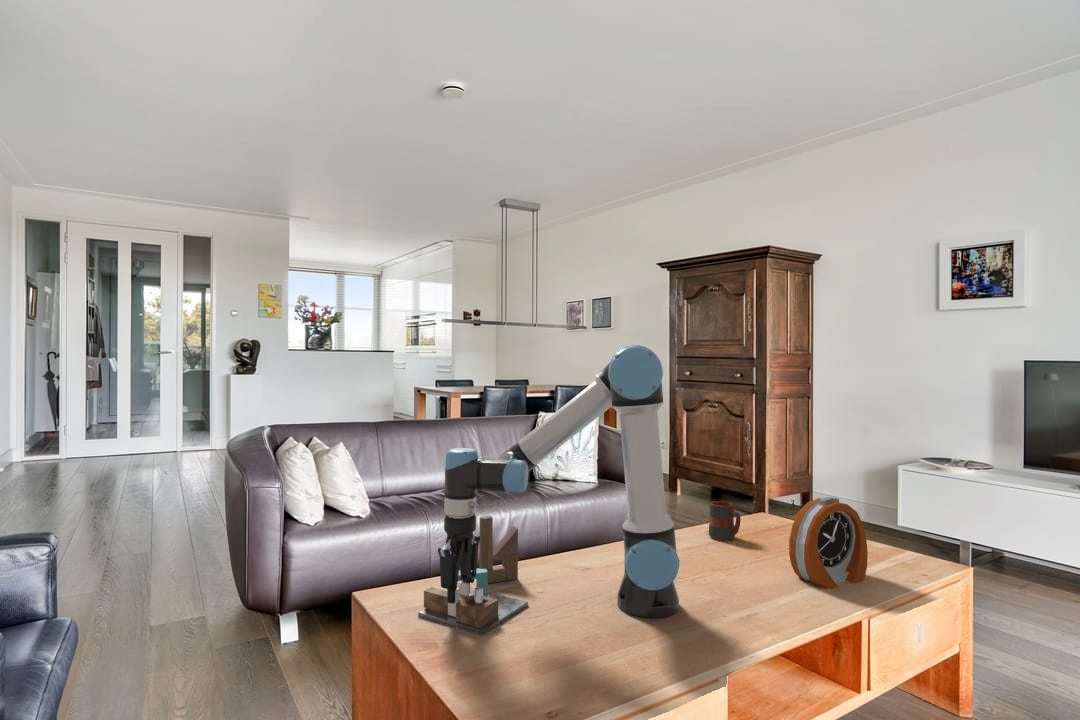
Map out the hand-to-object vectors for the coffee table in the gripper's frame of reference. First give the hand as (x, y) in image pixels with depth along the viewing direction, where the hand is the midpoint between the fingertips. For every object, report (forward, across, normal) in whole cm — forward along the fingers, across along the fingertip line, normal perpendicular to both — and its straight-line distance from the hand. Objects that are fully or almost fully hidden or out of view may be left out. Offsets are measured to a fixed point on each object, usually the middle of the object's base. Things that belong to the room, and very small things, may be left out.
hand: (458, 612), depth 148 cm
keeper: (+1, +9, +4) cm, 10 cm away
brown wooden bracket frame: (+2, +25, +6) cm, 26 cm away
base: (+1, +5, -1) cm, 5 cm away
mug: (0, +97, -38) cm, 104 cm away
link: (0, 0, 0) cm, 0 cm away
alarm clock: (0, +74, -73) cm, 104 cm away
